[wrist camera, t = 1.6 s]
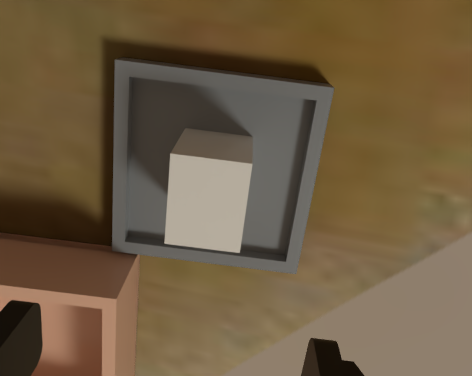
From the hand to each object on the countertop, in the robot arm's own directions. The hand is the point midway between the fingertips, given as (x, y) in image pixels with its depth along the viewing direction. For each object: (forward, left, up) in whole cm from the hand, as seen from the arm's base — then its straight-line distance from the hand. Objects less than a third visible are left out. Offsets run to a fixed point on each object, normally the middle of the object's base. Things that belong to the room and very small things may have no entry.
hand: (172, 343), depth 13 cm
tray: (0, 0, -15) cm, 15 cm away
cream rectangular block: (0, 0, -15) cm, 15 cm away
